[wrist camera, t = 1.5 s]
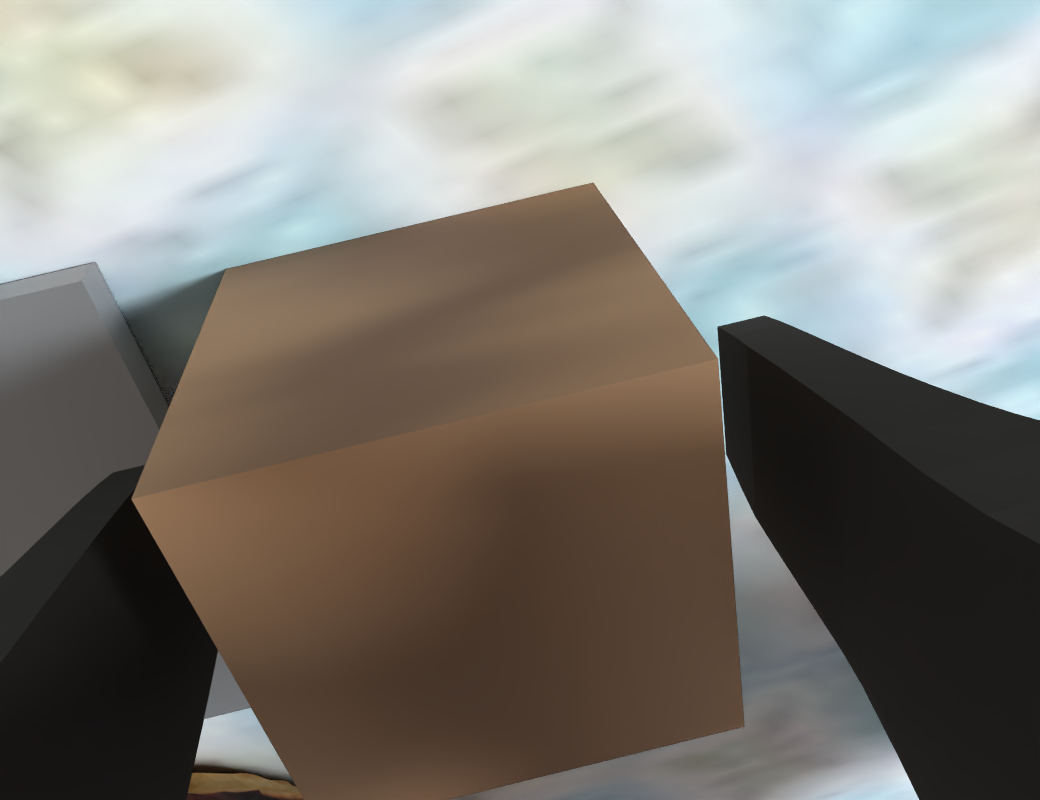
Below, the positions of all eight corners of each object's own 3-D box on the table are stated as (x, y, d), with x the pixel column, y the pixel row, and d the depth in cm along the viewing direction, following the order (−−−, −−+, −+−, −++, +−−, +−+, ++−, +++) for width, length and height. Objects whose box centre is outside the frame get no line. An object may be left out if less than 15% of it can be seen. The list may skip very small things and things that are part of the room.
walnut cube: (591, 181, 11) (718, 359, 7) (635, 471, 14) (744, 726, 10) (226, 266, 11) (130, 498, 7) (340, 541, 14) (321, 831, 10)
